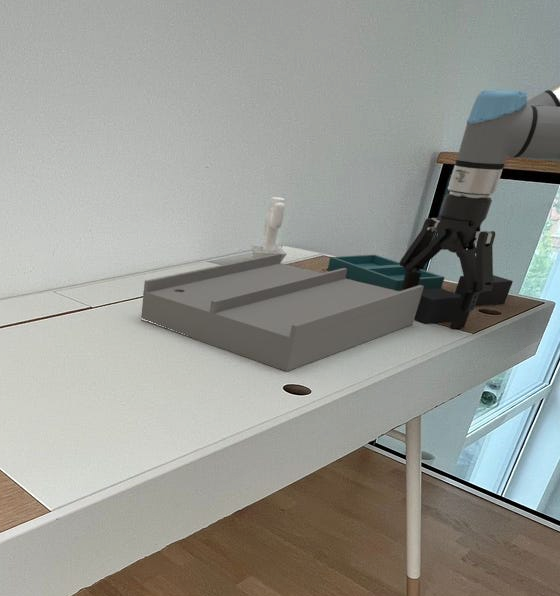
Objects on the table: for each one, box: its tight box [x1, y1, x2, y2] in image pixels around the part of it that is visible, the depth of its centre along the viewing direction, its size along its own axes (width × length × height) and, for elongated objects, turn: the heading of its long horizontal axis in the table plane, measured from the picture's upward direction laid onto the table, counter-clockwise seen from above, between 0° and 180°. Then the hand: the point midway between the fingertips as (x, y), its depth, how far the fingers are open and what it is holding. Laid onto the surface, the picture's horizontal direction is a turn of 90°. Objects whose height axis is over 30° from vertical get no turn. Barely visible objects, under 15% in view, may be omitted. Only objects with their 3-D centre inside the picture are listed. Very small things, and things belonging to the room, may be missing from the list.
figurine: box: [250, 196, 287, 264], centre depth 157 cm, size 7×9×15 cm
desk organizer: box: [140, 253, 424, 372], centre depth 122 cm, size 32×40×7 cm
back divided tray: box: [327, 253, 445, 291], centre depth 152 cm, size 22×13×3 cm, turn 20°
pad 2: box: [454, 274, 514, 307], centre depth 139 cm, size 6×8×4 cm
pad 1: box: [414, 288, 461, 325], centre depth 128 cm, size 6×8×4 cm
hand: (429, 316), depth 129 cm, fingers open, 13 cm apart
